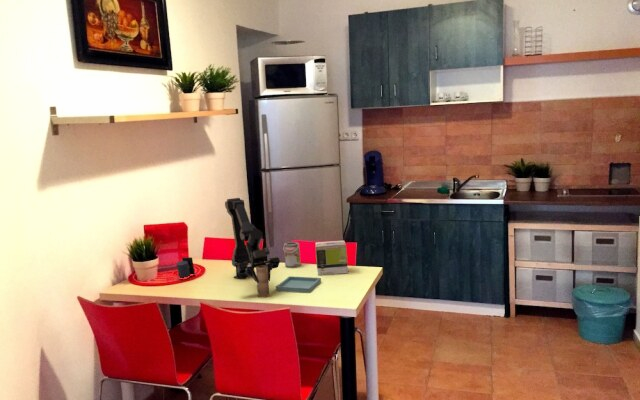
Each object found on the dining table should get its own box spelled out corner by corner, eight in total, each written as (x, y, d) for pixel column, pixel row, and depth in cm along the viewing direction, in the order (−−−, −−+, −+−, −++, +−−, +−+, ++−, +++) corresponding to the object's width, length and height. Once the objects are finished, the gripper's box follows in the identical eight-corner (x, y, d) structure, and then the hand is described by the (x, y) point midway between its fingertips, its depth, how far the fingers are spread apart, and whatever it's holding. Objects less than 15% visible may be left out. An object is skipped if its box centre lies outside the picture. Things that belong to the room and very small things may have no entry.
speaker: (187, 274, 281) (184, 255, 278) (195, 276, 278) (192, 257, 275) (176, 280, 275) (173, 260, 272) (184, 282, 272) (181, 262, 269)
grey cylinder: (298, 268, 282) (296, 245, 280) (282, 268, 284) (281, 245, 282) (302, 263, 291) (301, 241, 289) (287, 263, 293) (285, 241, 291)
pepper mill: (261, 293, 245) (259, 264, 243) (271, 293, 244) (269, 265, 242) (256, 296, 241) (254, 268, 239) (266, 297, 239) (264, 268, 237)
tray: (289, 280, 262) (289, 276, 262) (321, 282, 257) (320, 277, 257) (275, 290, 247) (275, 286, 247) (309, 292, 242) (308, 288, 242)
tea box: (346, 268, 278) (345, 239, 276) (348, 273, 268) (346, 244, 266) (316, 270, 278) (315, 241, 275) (317, 275, 268) (315, 246, 265)
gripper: (236, 245, 239) (245, 275, 230) (277, 239, 246) (287, 268, 238) (233, 258, 247) (242, 288, 239) (272, 252, 254) (282, 281, 246)
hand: (263, 281), depth 240 cm, fingers closed on pepper mill, 5 cm apart
